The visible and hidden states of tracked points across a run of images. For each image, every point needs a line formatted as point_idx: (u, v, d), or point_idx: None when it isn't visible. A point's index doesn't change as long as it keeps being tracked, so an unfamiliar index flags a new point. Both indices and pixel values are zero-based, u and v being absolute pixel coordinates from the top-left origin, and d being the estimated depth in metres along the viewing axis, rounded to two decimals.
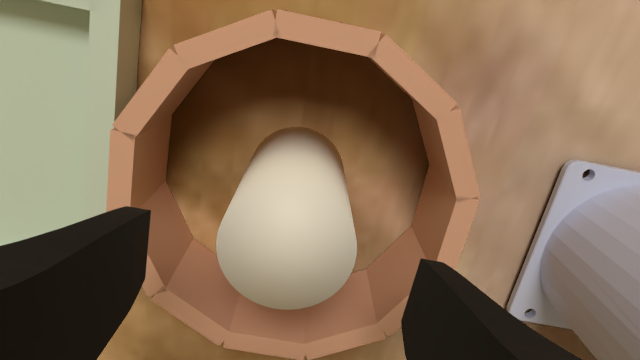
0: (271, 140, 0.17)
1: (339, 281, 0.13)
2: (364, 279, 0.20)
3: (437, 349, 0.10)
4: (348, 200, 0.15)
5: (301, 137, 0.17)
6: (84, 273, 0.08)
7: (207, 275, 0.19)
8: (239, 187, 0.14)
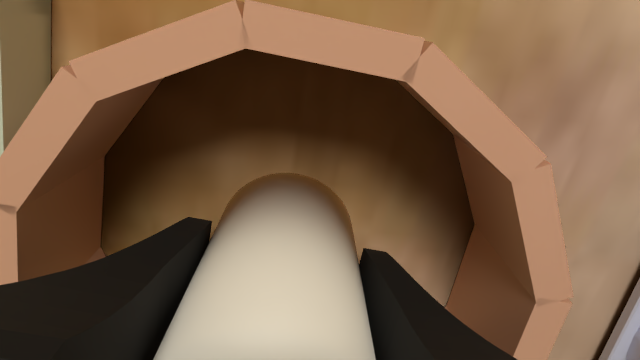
0: (247, 197, 0.12)
1: None
2: None
3: None
4: (366, 315, 0.09)
5: (291, 195, 0.11)
6: (167, 287, 0.08)
7: None
8: (183, 300, 0.08)
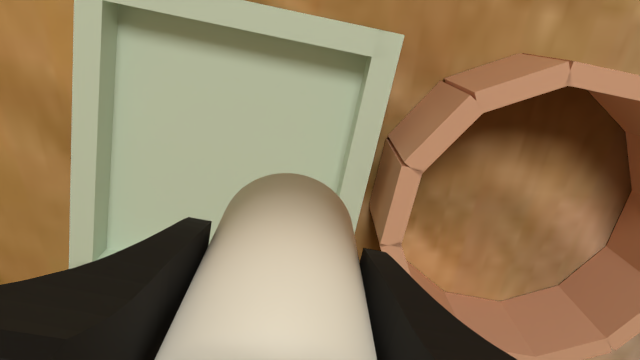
0: (247, 198, 0.12)
1: None
2: (563, 295, 0.22)
3: None
4: (367, 316, 0.09)
5: (292, 195, 0.11)
6: (167, 286, 0.08)
7: (429, 292, 0.21)
8: (184, 301, 0.08)
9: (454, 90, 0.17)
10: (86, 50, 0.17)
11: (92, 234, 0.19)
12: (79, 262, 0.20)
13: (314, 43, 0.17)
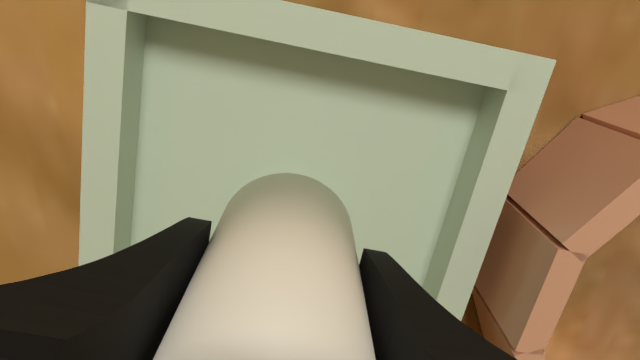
0: (246, 197, 0.12)
1: None
2: None
3: None
4: (366, 315, 0.09)
5: (291, 195, 0.11)
6: (167, 287, 0.08)
7: None
8: (183, 301, 0.08)
9: (622, 137, 0.12)
10: (102, 81, 0.12)
11: None
12: None
13: (428, 71, 0.12)
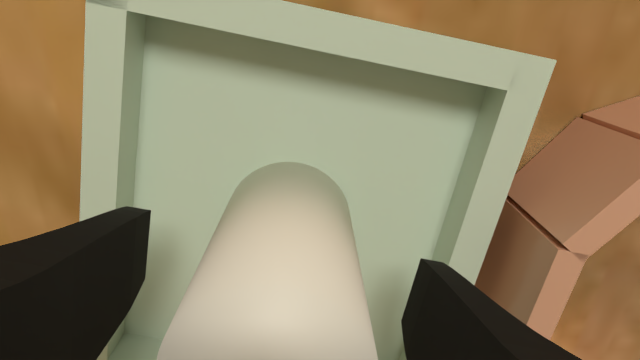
0: (252, 183, 0.13)
1: None
2: None
3: (437, 349, 0.10)
4: (362, 283, 0.10)
5: (293, 180, 0.12)
6: (84, 273, 0.08)
7: None
8: (199, 268, 0.09)
9: (623, 137, 0.12)
10: (102, 81, 0.12)
11: None
12: None
13: (428, 72, 0.12)
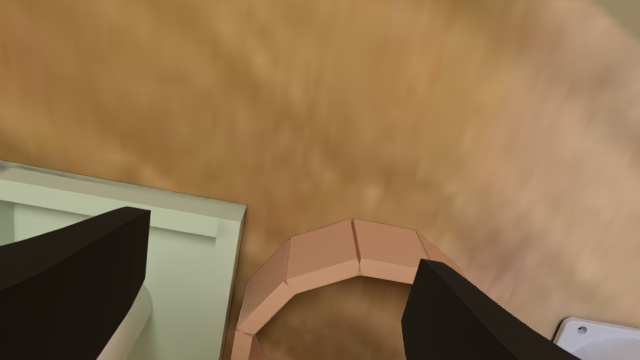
0: None
1: None
2: None
3: (437, 349, 0.10)
4: (107, 355, 0.19)
5: None
6: (84, 273, 0.08)
7: None
8: None
9: (283, 264, 0.21)
10: None
11: None
12: None
13: (168, 228, 0.21)
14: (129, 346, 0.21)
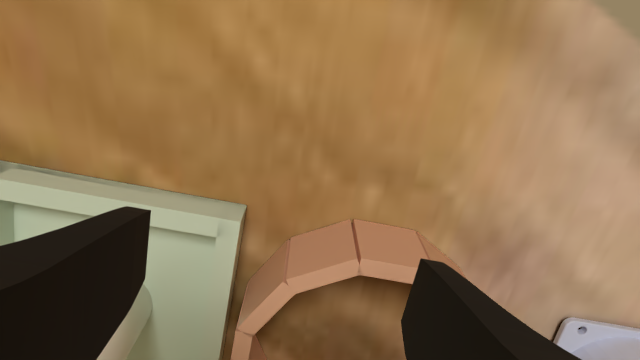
0: None
1: None
2: None
3: (437, 349, 0.10)
4: (107, 356, 0.19)
5: None
6: (84, 273, 0.08)
7: None
8: None
9: (283, 264, 0.21)
10: None
11: None
12: None
13: (168, 228, 0.21)
14: (129, 346, 0.21)
